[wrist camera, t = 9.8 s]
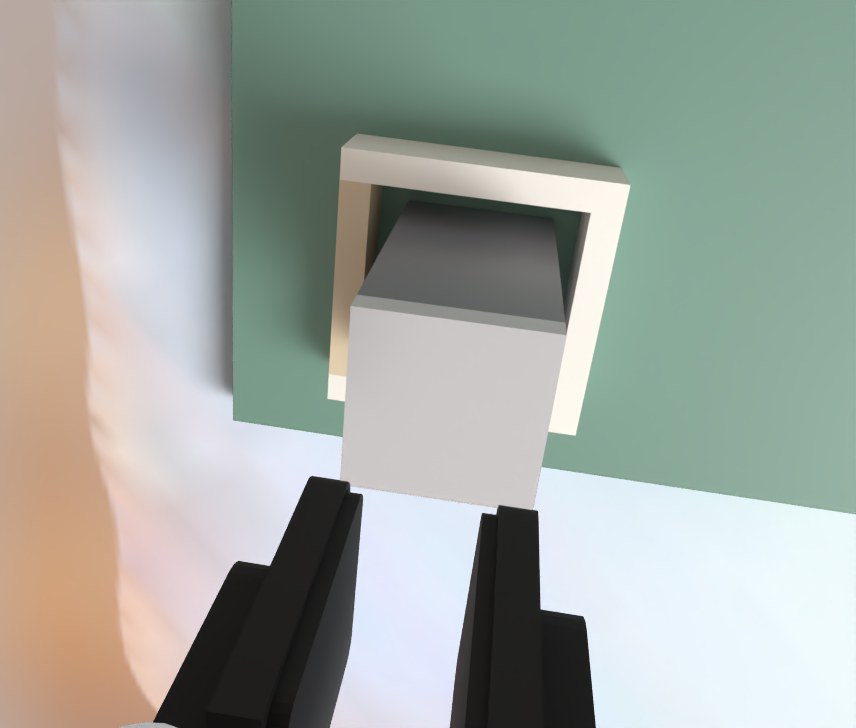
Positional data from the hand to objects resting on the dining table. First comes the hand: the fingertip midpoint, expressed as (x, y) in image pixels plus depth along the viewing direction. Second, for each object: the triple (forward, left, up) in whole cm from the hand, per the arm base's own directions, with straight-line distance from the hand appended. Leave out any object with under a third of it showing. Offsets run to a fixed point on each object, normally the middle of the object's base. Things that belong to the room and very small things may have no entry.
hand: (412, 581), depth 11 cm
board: (-2, +3, -14) cm, 15 cm away
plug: (0, 0, -13) cm, 13 cm away
